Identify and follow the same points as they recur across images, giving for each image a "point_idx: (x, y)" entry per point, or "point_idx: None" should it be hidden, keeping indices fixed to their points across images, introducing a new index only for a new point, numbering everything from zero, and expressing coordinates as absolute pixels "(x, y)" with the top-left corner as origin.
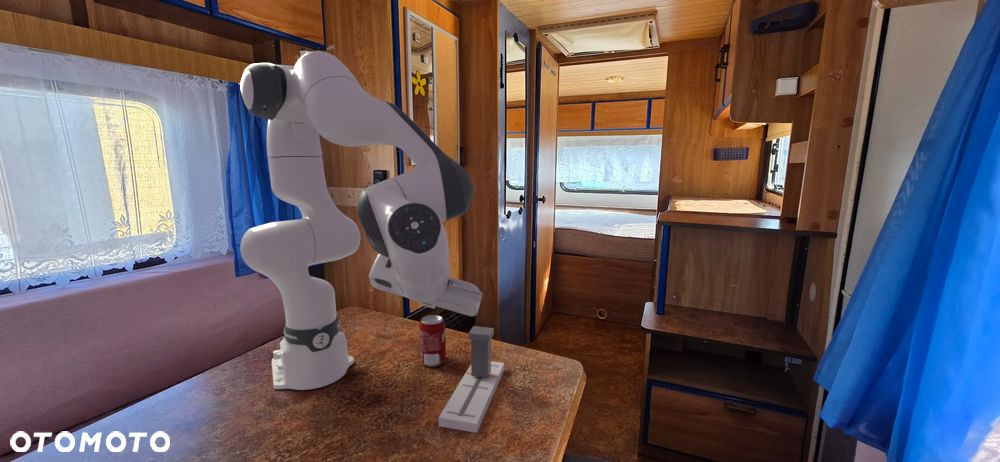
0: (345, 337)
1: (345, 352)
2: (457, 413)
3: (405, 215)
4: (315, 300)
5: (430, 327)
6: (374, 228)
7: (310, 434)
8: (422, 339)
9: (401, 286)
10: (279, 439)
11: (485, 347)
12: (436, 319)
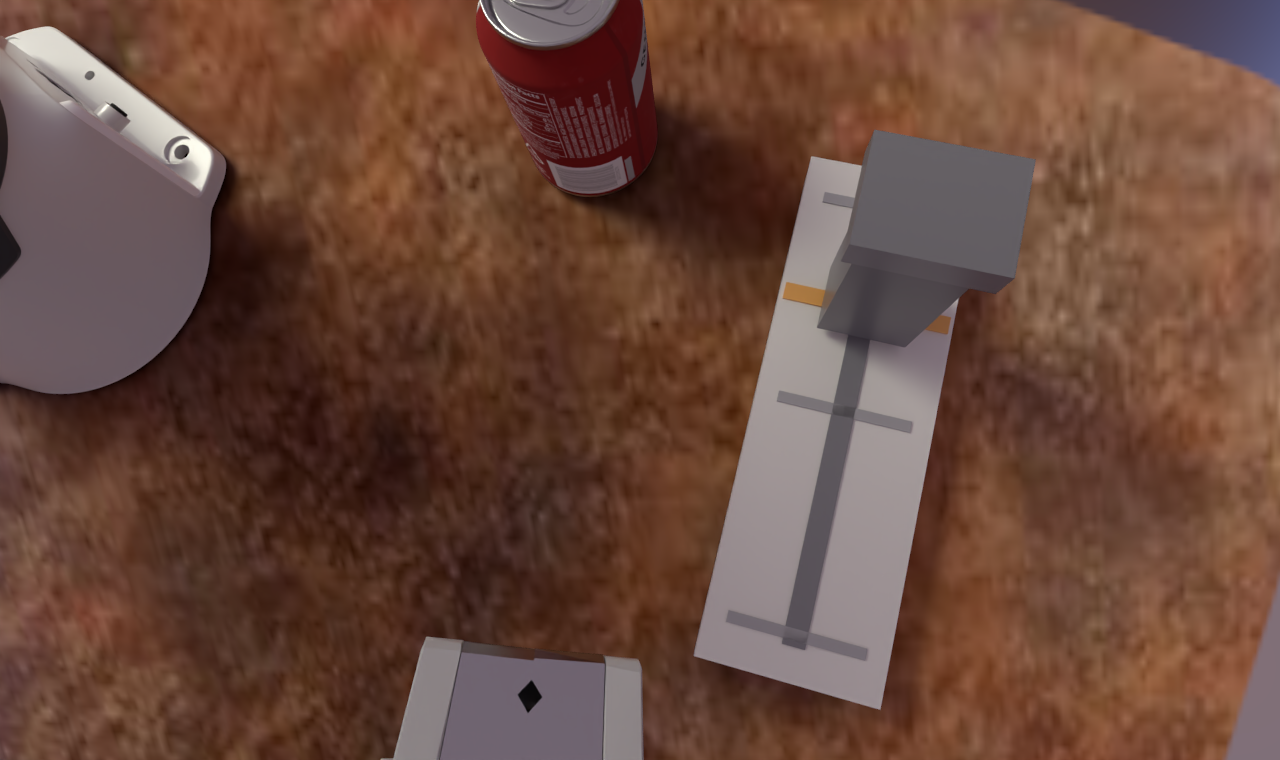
0: (88, 116)
1: (146, 181)
2: (779, 630)
3: None
4: None
5: (552, 64)
6: None
7: (181, 687)
8: (519, 111)
9: None
10: (75, 715)
11: (946, 289)
12: None
